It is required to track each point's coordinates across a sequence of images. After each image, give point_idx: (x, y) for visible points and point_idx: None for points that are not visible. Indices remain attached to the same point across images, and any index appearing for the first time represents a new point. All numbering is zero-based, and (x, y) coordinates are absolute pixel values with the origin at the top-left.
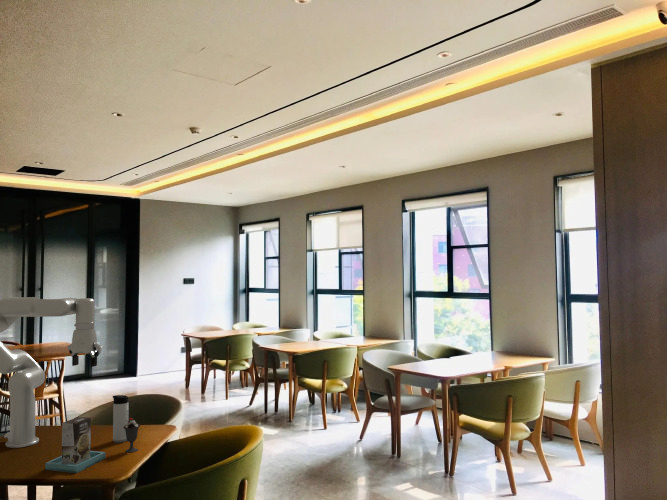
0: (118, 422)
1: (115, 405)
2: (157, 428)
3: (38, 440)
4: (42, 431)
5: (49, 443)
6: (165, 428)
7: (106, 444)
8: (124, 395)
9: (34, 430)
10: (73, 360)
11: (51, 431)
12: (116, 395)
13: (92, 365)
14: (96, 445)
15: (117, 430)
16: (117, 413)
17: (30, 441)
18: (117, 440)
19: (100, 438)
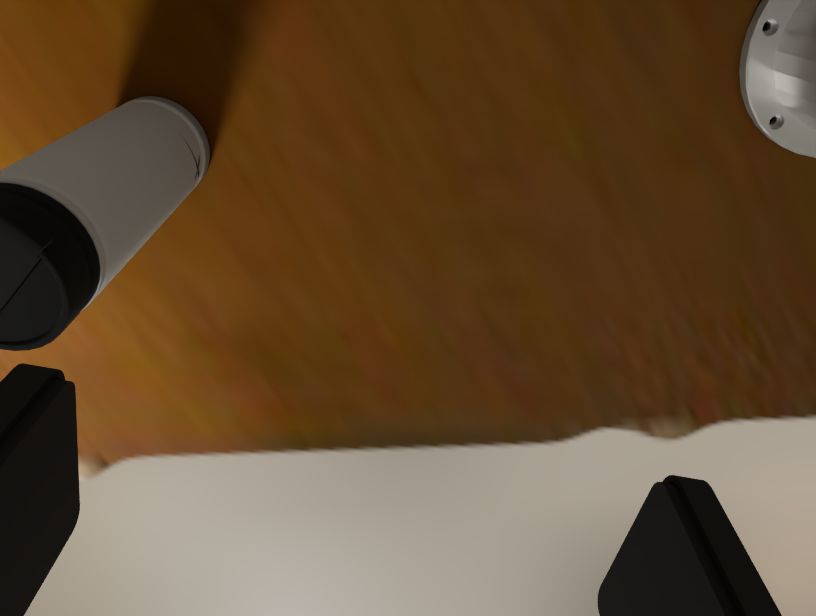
0: (80, 131)
1: (41, 185)
2: (89, 393)
3: (743, 83)
4: (798, 312)
5: (644, 61)
6: None
7: (210, 59)
8: (3, 344)
9: (812, 84)
10: (725, 599)
11: (737, 315)
12: (62, 313)
13: (9, 397)
14: (269, 31)
15: (116, 115)
16: (50, 151)
17: (789, 22)
18: (144, 98)
19: (332, 190)
